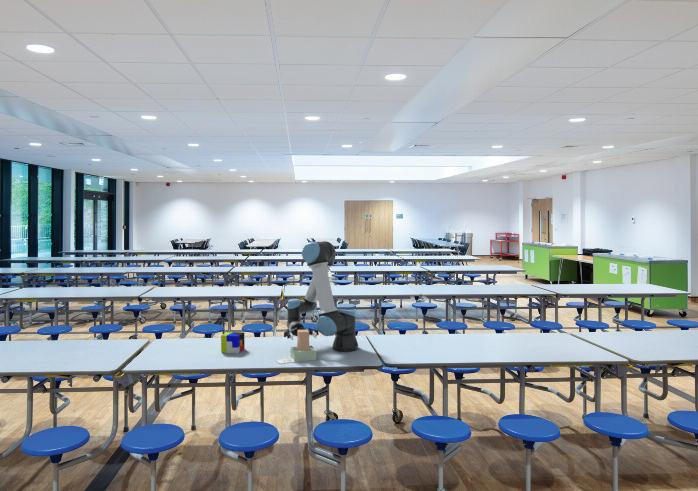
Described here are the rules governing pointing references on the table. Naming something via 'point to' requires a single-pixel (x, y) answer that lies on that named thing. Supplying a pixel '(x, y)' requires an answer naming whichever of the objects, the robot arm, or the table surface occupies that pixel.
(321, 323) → the robot arm
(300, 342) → the brick
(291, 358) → the page
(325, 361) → the table surface
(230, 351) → the puzzle toy
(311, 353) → the base block
